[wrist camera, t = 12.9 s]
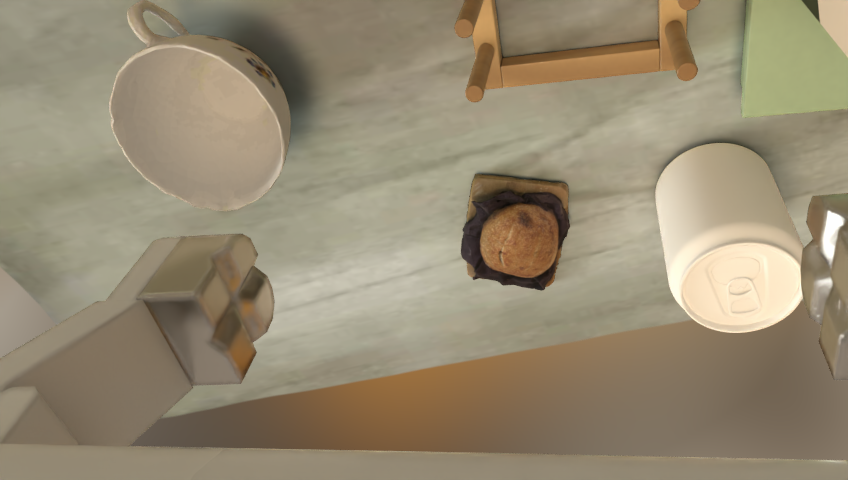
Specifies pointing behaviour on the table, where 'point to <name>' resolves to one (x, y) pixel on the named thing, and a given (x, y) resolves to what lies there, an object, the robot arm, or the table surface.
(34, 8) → the table surface
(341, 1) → the table surface
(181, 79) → the teacup
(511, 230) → the bread roll
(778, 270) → the beverage can
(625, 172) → the table surface
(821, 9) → the wine bottle
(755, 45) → the green low rectangular block
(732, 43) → the table surface
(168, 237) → the robot arm
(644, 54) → the dish rack
